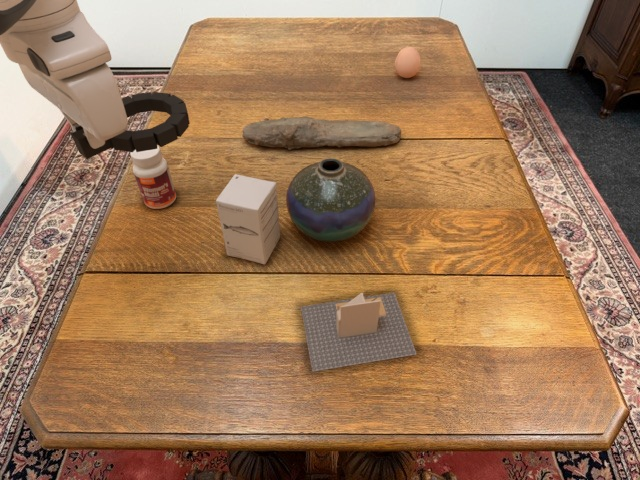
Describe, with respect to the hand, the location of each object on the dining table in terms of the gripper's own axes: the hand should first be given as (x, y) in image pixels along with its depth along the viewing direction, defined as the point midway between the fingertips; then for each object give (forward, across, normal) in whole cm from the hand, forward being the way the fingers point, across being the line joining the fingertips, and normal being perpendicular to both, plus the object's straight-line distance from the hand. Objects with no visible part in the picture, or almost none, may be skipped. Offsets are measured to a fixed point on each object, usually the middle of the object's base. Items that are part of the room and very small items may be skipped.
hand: (90, 139), depth 61 cm
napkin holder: (+25, +34, +15) cm, 45 cm away
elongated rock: (+26, -4, +47) cm, 54 cm away
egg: (+27, -8, +84) cm, 89 cm away
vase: (+26, +16, +28) cm, 41 cm away
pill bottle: (+25, -13, +11) cm, 31 cm away
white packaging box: (+25, +10, +15) cm, 31 cm away
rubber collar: (+2, 0, +6) cm, 6 cm away
